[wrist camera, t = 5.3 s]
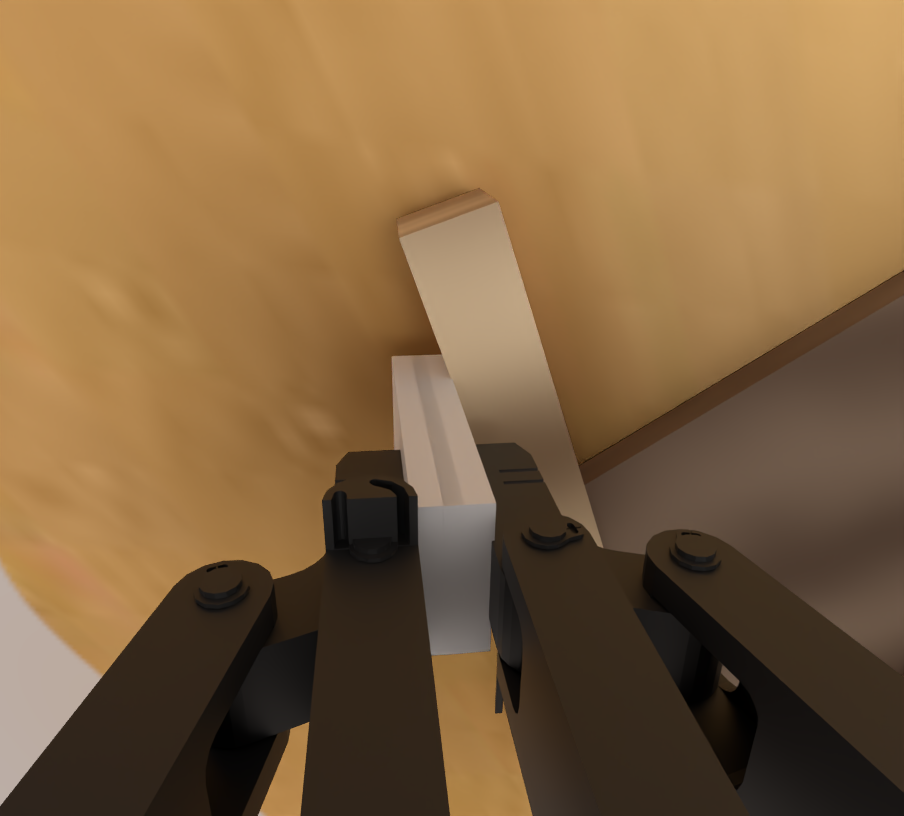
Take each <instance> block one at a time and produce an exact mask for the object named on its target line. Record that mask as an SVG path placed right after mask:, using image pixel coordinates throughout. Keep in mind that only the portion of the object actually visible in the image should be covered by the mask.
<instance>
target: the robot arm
mask: <svg viewBox="0 0 904 816" xmlns="http://www.w3.org/2000/svg"><path fill="white" fill-rule="evenodd" d="M392 385H393V422H394V450H382V451H361V452H348V453H347V454H346V455H345V456H344V457H343V459H342V460H341V461H340V462H339V463H338V464H337V465H336V477H335V485H334V486H333V487H331V488H330V489H329V490H327V492H326V494H325V496H324V498H323V500H322V506H323V519H324V532H325V545H326V554H325V555H324V556H323V557H322V558H321V559H320V560H319V561H317V562H316V563H315V564H313V565H312V566H310V567H308V568H306V569H304V570H302V571H300V572H297V573H294V574H291V575H288V576H285V577H281V578H277V579H274V580H273V579H272V577H271V574H270V572H269V571H268V570H267V569H265V568H264V567H262V566H261V565H259V564H257V563H252V562H248V561H244V560H234V561H221V562H217V563H213V564H209V565H205V566H203V567H201V568H199V569H197V570H195V571H193V572H191V573H189V574H187V575H186V576H185V577H184V578H182V579H181V580H180V581H179V582H178V583H177V584H176V585H175V586H174V587H173V588H172V589H171V591H170V592H169V593H168V594H167V596H166V597H165V598H164V599H163V601H162V602H161V603H160V605H159V606H158V607H157V608H156V610H155V611H154V612H153V613H152V615H151V616H150V617H149V618H148V620H147V621H146V622H145V624H144V625H143V626H142V627H141V629H140V630H139V631H138V632H137V634H136V635H135V636H134V637H133V639H132V640H131V641H130V643H129V644H128V645H127V646H126V648H125V649H124V650H123V651H122V653H121V654H120V655H119V656H118V658H117V659H116V660H115V661H114V663H113V664H112V665H111V667H110V668H109V669H108V670H107V672H106V673H105V674H104V675H103V677H102V678H101V679H100V681H99V682H98V683H97V684H96V686H95V687H94V688H93V689H92V691H91V692H90V693H89V694H88V696H87V697H86V698H85V699H84V701H83V702H82V704H81V705H80V706H79V707H78V708H77V710H76V711H75V712H74V713H73V715H72V716H71V717H70V718H69V720H68V721H67V722H66V724H65V725H64V726H63V728H62V729H61V730H60V731H59V733H58V734H57V735H56V736H55V738H54V739H53V740H52V741H51V743H50V744H49V745H48V746H47V748H46V749H45V750H44V751H43V753H42V754H41V755H40V757H39V758H38V759H37V760H36V762H35V763H34V764H33V765H32V767H31V768H30V769H29V771H28V772H27V773H26V774H25V776H24V777H23V778H22V779H21V781H20V782H19V783H18V784H17V786H16V787H15V788H14V790H13V791H12V792H11V793H10V794H9V796H8V797H7V798H6V800H5V801H4V802H3V803H2V805H1V806H0V816H258V814H259V811H260V809H261V806H262V804H263V801H264V799H265V797H266V794H267V792H268V789H269V787H270V784H271V782H272V780H273V777H274V775H275V772H276V770H277V767H278V765H279V763H280V760H281V758H282V755H283V753H284V751H285V748H286V746H287V743H288V739H289V734H290V729H291V728H294V727H297V726H299V725H302V724H305V723H307V722H309V732H308V743H307V753H306V764H305V774H304V785H303V795H302V805H301V816H450V812H449V803H448V795H447V786H446V777H445V769H444V760H443V752H442V743H441V735H440V726H439V718H438V709H437V700H436V692H435V683H434V675H433V666H432V658H431V656H432V655H449V654H461V653H472V652H484V651H490V642H491V628H492V632H493V636H494V640H495V644H496V647H497V650H498V653H497V675H496V696H495V713H502V709H503V701H504V705H505V709H506V713H507V717H508V721H509V725H510V729H511V733H512V737H513V740H514V744H515V748H516V752H517V756H518V760H519V764H520V768H521V772H522V776H523V779H524V783H525V787H526V791H527V795H528V799H529V803H530V807H531V811H532V815H533V816H904V677H903V676H902V675H900V674H899V673H898V672H896V671H895V670H894V669H893V668H891V667H890V666H889V665H887V664H886V663H885V662H883V661H882V660H881V659H879V658H878V657H877V656H875V655H874V654H873V653H872V652H870V651H869V650H868V649H866V648H865V647H864V646H862V645H861V644H860V643H858V642H857V641H856V640H854V639H853V638H852V637H851V636H849V635H848V634H847V633H845V632H844V631H843V630H841V629H840V628H839V627H837V626H836V625H835V624H833V623H832V622H831V621H830V620H828V619H827V618H826V617H824V616H823V615H822V614H820V613H819V612H818V611H816V610H815V609H814V608H812V607H811V606H810V605H808V604H807V603H806V602H805V601H803V600H802V599H801V598H799V597H798V596H797V595H795V594H794V593H793V592H791V591H790V590H789V589H787V588H786V587H785V586H784V585H782V584H781V583H780V582H778V581H777V580H776V579H774V578H773V577H772V576H770V575H769V574H768V573H766V572H765V571H764V570H763V569H761V568H760V567H759V566H757V565H756V564H755V563H753V562H752V561H751V560H749V559H748V558H747V557H745V556H744V555H743V554H742V553H740V552H739V551H738V550H736V549H735V548H734V547H732V546H731V545H729V544H728V543H726V542H724V541H722V540H721V539H719V538H717V537H715V536H712V535H709V534H706V533H703V532H700V531H696V530H689V529H676V530H666V531H663V532H660V533H658V534H656V535H653V536H652V538H651V539H650V540H649V542H648V543H647V545H646V552H645V555H644V554H636V553H629V552H622V551H615V550H610V549H605V548H602V547H599V546H597V544H596V542H595V541H594V539H593V537H592V535H591V533H590V532H589V531H588V530H587V529H586V528H585V527H584V526H583V525H582V524H581V523H579V522H577V521H575V520H574V519H572V518H570V517H567V516H563V515H561V513H560V511H559V509H558V507H557V505H556V503H555V501H554V499H553V497H552V495H551V493H550V491H549V489H548V487H547V485H546V483H545V482H544V479H543V477H542V475H541V473H540V471H538V467H537V465H536V463H535V461H534V459H533V457H532V455H531V454H530V453H529V452H527V451H526V450H524V449H523V448H522V447H520V446H519V445H517V444H516V443H514V442H513V443H493V444H475V442H474V439H473V436H472V433H471V430H470V428H469V425H468V422H467V419H466V416H465V413H464V411H463V408H462V405H461V402H460V399H459V396H458V394H457V391H456V388H455V385H454V382H453V379H451V377H450V375H449V372H448V369H447V367H446V364H445V361H444V359H443V356H442V355H410V356H392ZM722 665H724V666H725V667H726V668H727V669H728V670H729V671H730V672H731V673H732V674H733V675H734V676H735V677H736V678H737V679H738V680H739V684H738V686H735V685H734V684H732V683H731V682H730V681H728V680H727V679H726V678H725V677H724V676H723V675H722V674H721V670H722Z"/></svg>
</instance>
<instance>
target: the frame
mask: <svg viewBox="0 0 904 816" xmlns="http://www.w3.org/2000/svg"><path fill="white" fill-rule="evenodd" d="M579 469H580V472H581V476H582V479H583V482H584V485H585V489H586V492H587V495H588V499H589V502H590V505H591V509H592V512H593V515H594V518H595V522H596V525H597V528H598V532H599V535H600V538H601V541H602V545H603V548H605V549H610V550H615V551H622V552H629V553H636V554H644V555H645V552H646V545H647V543H648V542H649V540H650V539H651V538H652V536H653V535H656V534H658V533H660V532H663V531H666V530H676V529H689V530H696V531H700V532H703V533H706V534H709V535H712V536H715V537H717V538H719V539H721V540H722V541H724V542H726V543H728V544H729V545H731V546H732V547H734V548H735V549H736V550H738V551H739V552H740V553H742V554H743V555H744V556H745V557H747V558H748V559H749V560H751V561H752V562H753V563H755V564H756V565H757V566H759V567H760V568H761V569H763V570H764V571H765V572H766V573H768V574H769V575H770V576H772V577H773V578H774V579H776V580H777V581H778V582H780V583H781V584H782V585H784V586H785V587H786V588H787V589H789V590H790V591H791V592H793V593H794V594H795V595H797V596H798V597H799V598H801V599H802V600H803V601H805V602H806V603H807V604H808V605H810V606H811V607H812V608H814V609H815V610H816V611H818V612H819V613H820V614H822V615H823V616H824V617H826V618H827V619H828V620H830V621H831V622H832V623H833V624H835V625H836V626H837V627H839V628H840V629H841V630H843V631H844V632H845V633H847V634H848V635H849V636H851V637H852V638H853V639H854V640H856V641H857V642H858V643H860V644H861V645H862V646H864V647H865V648H866V649H868V650H869V651H870V652H872V653H873V654H874V655H875V656H877V657H878V658H879V659H881V660H882V661H883V662H885V663H886V664H887V665H889V666H890V667H891V668H893V669H894V670H895V671H896V672H898V673H899V674H900V675H902V676H903V677H904V271H903V272H901V273H900V274H898V275H896V276H895V277H893V278H891V279H890V280H888V281H886V282H885V283H883V284H881V285H880V286H878V287H876V288H875V289H873V290H871V291H870V292H868V293H866V294H865V295H863V296H861V297H860V298H858V299H856V300H855V301H853V302H851V303H850V304H848V305H846V306H845V307H843V308H841V309H840V310H838V311H836V312H835V313H833V314H831V315H830V316H828V317H826V318H825V319H823V320H821V321H820V322H818V323H816V324H815V325H813V326H811V327H810V328H808V329H806V330H805V331H803V332H801V333H800V334H798V335H796V336H795V337H793V338H791V339H790V340H788V341H786V342H785V343H783V344H781V345H780V346H778V347H776V348H775V349H773V350H771V351H770V352H768V353H766V354H765V355H763V356H761V357H760V358H758V359H756V360H755V361H753V362H751V363H750V364H748V365H746V366H745V367H743V368H741V369H740V370H738V371H736V372H735V373H733V374H731V375H730V376H728V377H726V378H725V379H723V380H721V381H720V382H718V383H716V384H715V385H713V386H711V387H710V388H708V389H706V390H705V391H703V392H702V393H700V394H698V395H697V396H695V397H693V398H692V399H690V400H688V401H687V402H685V403H683V404H682V405H680V406H678V407H677V408H675V409H673V410H672V411H670V412H668V413H667V414H665V415H663V416H662V417H660V418H658V419H657V420H655V421H653V422H652V423H650V424H648V425H647V426H645V427H643V428H642V429H640V430H638V431H637V432H635V433H633V434H632V435H630V436H628V437H627V438H625V439H623V440H622V441H620V442H618V443H617V444H615V445H613V446H612V447H610V448H608V449H607V450H605V451H603V452H602V453H600V454H598V455H597V456H595V457H593V458H592V459H590V460H588V461H587V462H585V463H583V464H582V465H580V466H579ZM721 674H722V675H723V676H724V677H725V678H726V679H727V680H728V681H730V682H731V683H732V684H734V685H735V686H738V684H739V680H738V679H737V678H736V677H735V676H734V675H733V674H732V673H731V672H730V671H729V670H728V669H727V668H726V667H725V666H724V665H722V670H721Z"/></svg>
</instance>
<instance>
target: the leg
mask: <svg viewBox="0 0 904 816" xmlns="http://www.w3.org/2000/svg"><path fill="white" fill-rule="evenodd" d="M397 227H398V235H399V240H400V242H401V245H402V248H403V250H404V253H405V256H406V259H407V261H408V264H409V267H410V269H411V272H412V275H413V278H414V280H415V283H416V286H417V288H418V291H419V294H420V296H421V299H422V302H423V305H424V307H425V310H426V313H427V315H428V318H429V321H430V323H431V326H432V329H433V332H434V334H435V337H436V340H437V342H438V345H439V348H440V350H441V353H442V356H443V359H444V361H445V364H446V367H447V369H448V372H449V375H450V377H451V379H453V382H454V385H455V388H456V391H457V394H458V396H459V399H460V402H461V405H462V408H463V411H464V413H465V416H466V419H467V422H468V425H469V428H470V430H471V433H472V436H473V439H474V442H475V444H493V443H513V442H514V443H516V444H517V445H519V446H520V447H522V448H523V449H524V450H526V451H527V452H529V453H530V454H531V455H532V457H533V459H534V461H535V463H536V465H537V467H538V471H540V473H541V475H542V477H543V479H544V482H545V483H546V485H547V487H548V489H549V491H550V493H551V495H552V497H553V499H554V501H555V503H556V505H557V507H558V509H559V511H560V513H561V515H563V516H567V517H570V518H572V519H574V520H575V521H577V522H579V523H581V524H582V525H583V526H584V527H585V528H586V529H587V530H588V531H589V532H590V533H591V535H592V537H593V539H594V541H595V542H596V544H597V546H599V547H602V548H603V545H602V541H601V538H600V535H599V532H598V528H597V525H596V522H595V518H594V515H593V512H592V509H591V505H590V502H589V499H588V495H587V492H586V489H585V485H584V482H583V479H582V476H581V472H580V469H579V466H578V462H577V459H576V456H575V452H574V449H573V446H572V443H571V439H570V436H569V433H568V429H567V426H566V423H565V419H564V416H563V413H562V410H561V406H560V403H559V400H558V396H557V393H556V390H555V387H554V383H553V380H552V377H551V373H550V370H549V367H548V363H547V360H546V357H545V354H544V350H543V347H542V344H541V340H540V337H539V334H538V330H537V327H536V324H535V321H534V317H533V314H532V311H531V307H530V304H529V301H528V297H527V294H526V291H525V288H524V284H523V281H522V278H521V274H520V271H519V268H518V265H517V261H516V258H515V255H514V251H513V248H512V245H511V241H510V238H509V235H508V232H507V228H506V225H505V222H504V218H503V215H502V212H501V208H500V205H499V202H498V201H497V200H496V199H494V198H493V197H491V196H490V195H488V194H487V193H486V192H484V191H483V190H481V189H480V188H478V189H476V190H473V191H470V192H467V193H465V194H462V195H459V196H457V197H454V198H451V199H448V200H446V201H443V202H440V203H438V204H435V205H432V206H430V207H427V208H424V209H421V210H419V211H416V212H413V213H411V214H408V215H405V216H402V217H400V218H397Z"/></svg>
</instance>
